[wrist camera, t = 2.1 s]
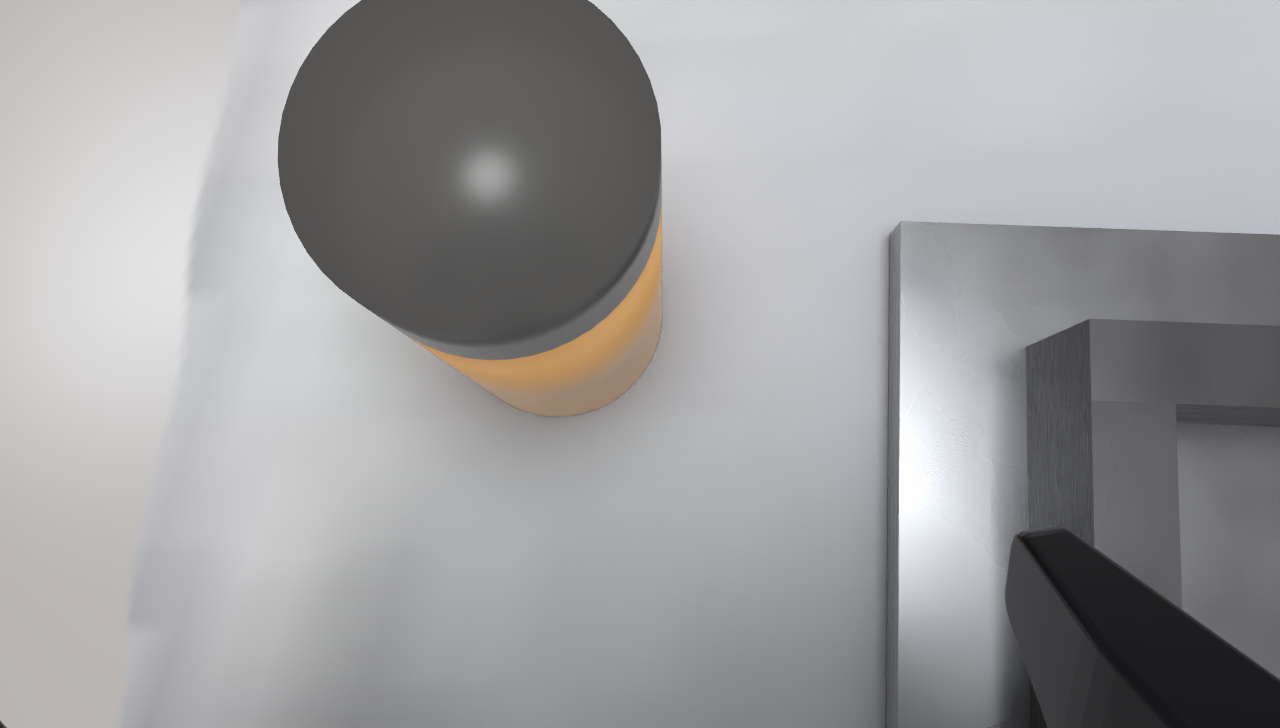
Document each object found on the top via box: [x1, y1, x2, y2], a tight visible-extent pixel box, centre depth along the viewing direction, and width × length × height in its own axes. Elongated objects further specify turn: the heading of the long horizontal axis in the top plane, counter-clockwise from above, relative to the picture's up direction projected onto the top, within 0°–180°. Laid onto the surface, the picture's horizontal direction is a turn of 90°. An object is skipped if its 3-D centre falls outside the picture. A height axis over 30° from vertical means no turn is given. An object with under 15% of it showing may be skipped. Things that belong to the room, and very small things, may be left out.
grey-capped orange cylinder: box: [278, 0, 662, 417], centre depth 16 cm, size 4×4×10 cm
